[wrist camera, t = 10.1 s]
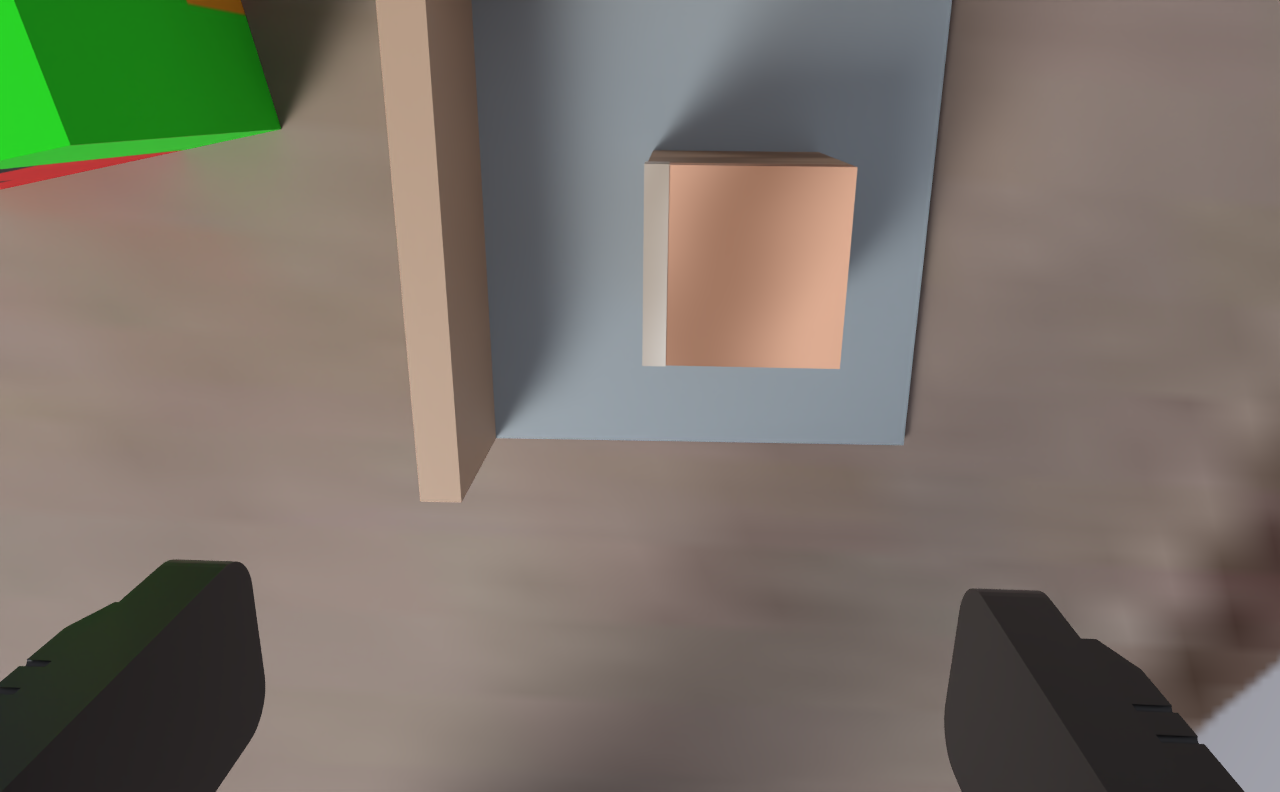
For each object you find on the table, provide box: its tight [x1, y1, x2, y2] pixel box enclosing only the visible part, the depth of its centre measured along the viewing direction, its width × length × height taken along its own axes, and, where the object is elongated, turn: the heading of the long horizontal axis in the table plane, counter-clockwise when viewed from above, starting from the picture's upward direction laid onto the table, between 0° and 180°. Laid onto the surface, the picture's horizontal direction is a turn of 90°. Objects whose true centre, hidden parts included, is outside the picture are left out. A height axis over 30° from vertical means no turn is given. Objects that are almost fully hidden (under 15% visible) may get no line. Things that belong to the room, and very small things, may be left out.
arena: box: [376, 0, 952, 502], centre depth 25 cm, size 16×15×5 cm
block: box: [642, 150, 858, 369], centre depth 24 cm, size 5×5×6 cm
